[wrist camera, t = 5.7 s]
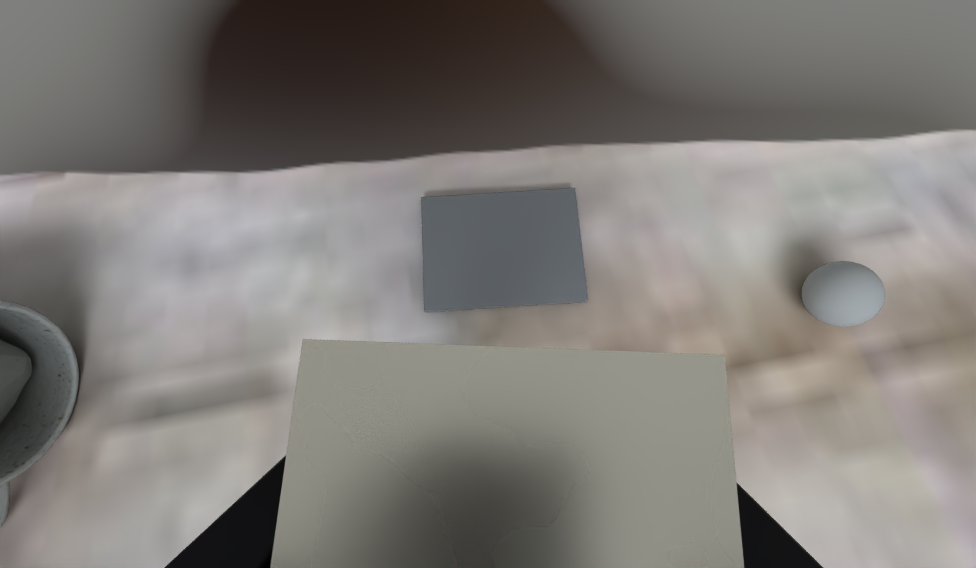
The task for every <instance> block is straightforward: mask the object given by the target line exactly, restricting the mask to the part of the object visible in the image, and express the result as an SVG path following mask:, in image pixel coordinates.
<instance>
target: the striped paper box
mask: <svg viewBox="0 0 976 568" xmlns="http://www.w3.org/2000/svg"><path fill="white" fill-rule="evenodd" d="M270 568H744V560H743V549H742V538H741V527H740V516H739V505H738V494H737V484H736V473H735V462H734V451H733V440H732V429H731V418H730V408H729V397H728V386H727V375H726V364H725V355H711V354H685V353H658V352H631V351H605V350H578V349H552V348H525V347H498V346H472V345H445V344H419V343H392V342H366V341H339V340H312V339H303V341H302V348H301V355H300V362H299V369H298V376H297V383H296V390H295V397H294V404H293V411H292V418H291V425H290V432H289V440H288V447H287V454H286V461H285V468H284V475H283V482H282V489H281V496H280V503H279V510H278V517H277V524H276V531H275V538H274V545H273V552H272V559H271V566H270Z"/></svg>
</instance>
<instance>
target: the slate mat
mask: <svg viewBox="0 0 976 568" xmlns="http://www.w3.org/2000/svg"><path fill="white" fill-rule="evenodd" d="M421 205H422V245H423V284H424V311H425V312H436V311H452V310H468V309H485V308H501V307H517V306H533V305H549V304H566V303H582V302H587V301H588V295H587V286H586V278H585V269H584V261H583V252H582V244H581V236H580V227H579V219H578V210H577V202H576V193H575V188H564V189H548V190H532V191H515V192H499V193H483V194H466V195H450V196H434V197H421Z"/></svg>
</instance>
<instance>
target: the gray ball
mask: <svg viewBox="0 0 976 568" xmlns="http://www.w3.org/2000/svg"><path fill="white" fill-rule="evenodd" d="M802 300H803V303H804V305H805V307H806V309H807V310H808V311H809V313H810V314H811V315H812V316H814V317H815V318H816V319H818V320H820V321H822V322H824V323H826V324H829V325H833V326H843V327H846V326H854V325H858V324H861V323H864V322H866V321H868V320H870V319H871V318H872V317H874V316H875V315H876V314H877V313H878V312H879V311H880V309H881V308H882V305H883V303H884V300H885V290H884V286H883V283H882V281H881V280H880V278H879V277H878V276H877V275H876V274H875V273H874V272H873V271H872V270H871V269H869V268H867V267H865V266H863V265H861V264H858V263H854V262H847V261H839V262H832V263H828V264H825V265H822V266H820V267H819V268H817V269H815V270H814V271H813V272H812V273H811V274H810V275H809V276H808V277H807V278H806V280H805V282H804V284H803V287H802Z"/></svg>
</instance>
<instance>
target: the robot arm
mask: <svg viewBox="0 0 976 568" xmlns="http://www.w3.org/2000/svg"><path fill="white" fill-rule="evenodd" d="M285 461H286V456H285V457H283V458H282V459H281V460H280V461H279V462H278V463H277V464H276V465H275V466H274V467H273V468H272V469H271V470H269V471H268V472H267V473H266V474H265V475H264V476H263V477H262V478H261V479H260V480H259V481H258V482H256V483H255V484H254V485H253V486H252V487H251V488H250V489H249V490H248V491H247V492H246V493H245V494H244V495H242V496H241V497H240V498H239V499H238V500H237V501H236V502H235V503H234V504H233V505H232V506H231V507H230V508H228V509H227V510H226V511H225V512H224V513H223V514H222V515H221V516H220V517H219V518H218V519H217V520H215V521H214V522H213V523H212V524H211V525H210V526H209V527H208V528H207V529H206V530H205V531H204V532H203V533H201V534H200V535H199V536H198V537H197V538H196V539H195V540H194V541H193V542H192V543H191V544H190V545H189V546H187V547H186V548H185V549H184V550H183V551H182V552H181V553H180V554H179V555H178V556H177V557H176V558H174V559H173V560H172V561H171V562H170V563H169V564H168V565H167V566H166V567H165V568H270V566H271V559H272V552H273V545H274V538H275V531H276V524H277V517H278V510H279V503H280V496H281V489H282V482H283V475H284V468H285ZM736 484H737V494H738V505H739V516H740V527H741V538H742V549H743V560H744V568H823V567H822V566H821V565H820V564H819V563H818V562H817V561H816V560H815V559H814V558H813V557H812V556H811V555H810V554H809V553H808V552H807V551H806V550H805V549H804V548H803V547H802V546H801V545H800V544H799V543H798V542H797V541H796V540H795V539H794V538H793V537H792V536H790V535H789V534H788V533H787V532H786V531H785V530H784V529H783V528H782V527H781V526H780V525H779V524H778V523H777V522H776V521H775V520H774V519H773V518H772V517H771V516H770V515H769V514H768V513H767V512H766V511H765V510H764V509H763V508H762V507H761V506H760V505H759V504H758V503H757V502H756V501H755V500H754V499H753V498H752V497H751V496H750V495H749V494H748V493H747V492H746V491H745V490H744V489H743V488H742V487H741V486H740V485H739V484H738V483H737V482H736Z"/></svg>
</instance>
